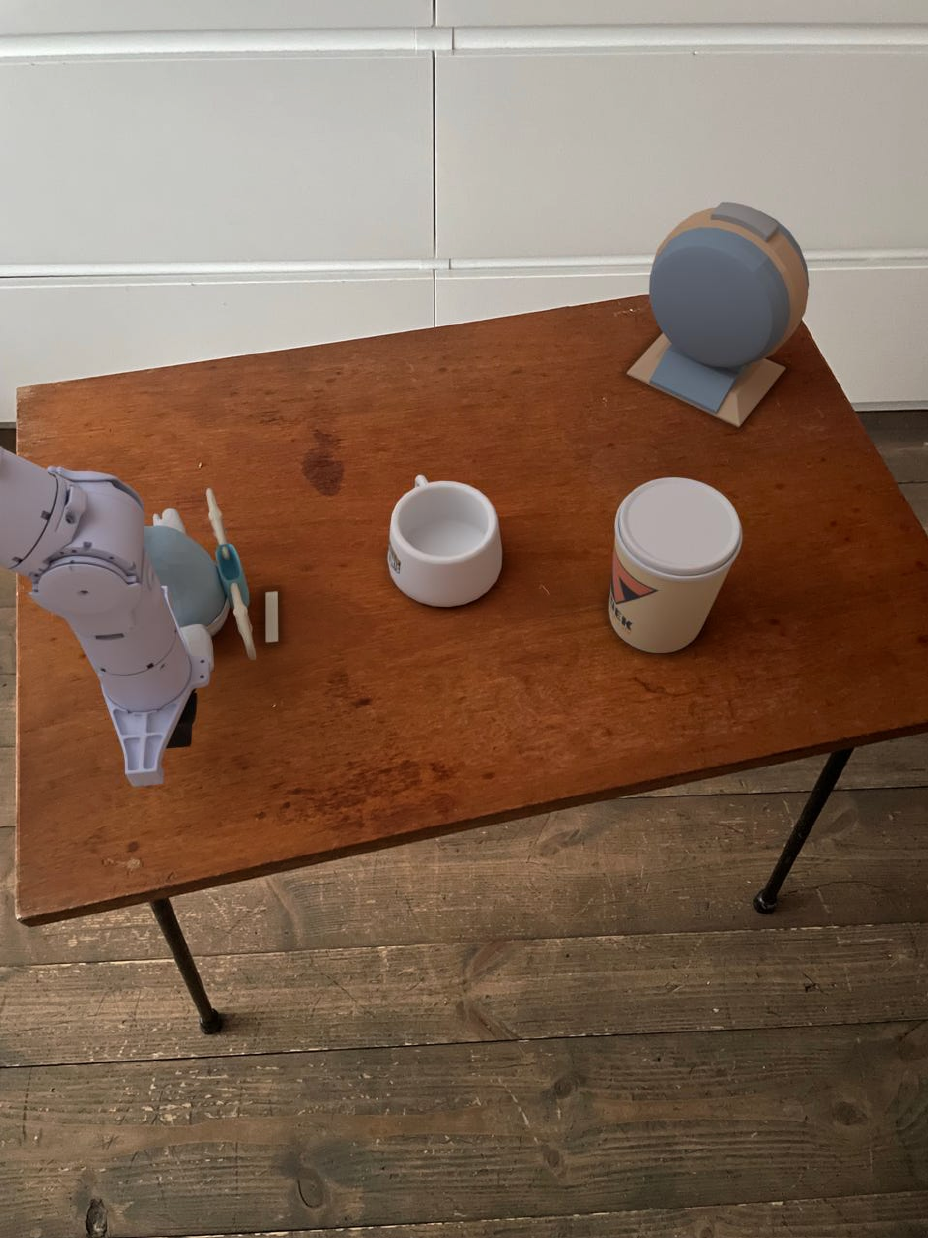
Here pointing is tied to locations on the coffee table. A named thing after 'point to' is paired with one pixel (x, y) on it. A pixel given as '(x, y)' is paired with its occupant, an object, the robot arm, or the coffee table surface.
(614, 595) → the coffee cup
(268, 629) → the tape marks
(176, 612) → the toy figure
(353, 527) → the coffee table surface
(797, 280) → the alarm clock
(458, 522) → the mug
